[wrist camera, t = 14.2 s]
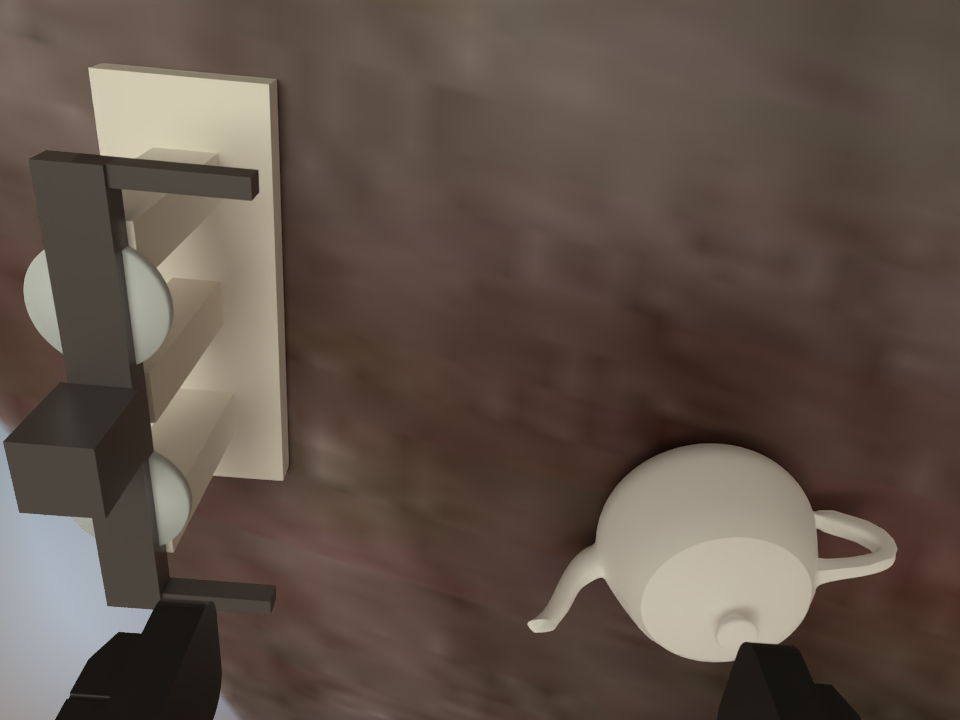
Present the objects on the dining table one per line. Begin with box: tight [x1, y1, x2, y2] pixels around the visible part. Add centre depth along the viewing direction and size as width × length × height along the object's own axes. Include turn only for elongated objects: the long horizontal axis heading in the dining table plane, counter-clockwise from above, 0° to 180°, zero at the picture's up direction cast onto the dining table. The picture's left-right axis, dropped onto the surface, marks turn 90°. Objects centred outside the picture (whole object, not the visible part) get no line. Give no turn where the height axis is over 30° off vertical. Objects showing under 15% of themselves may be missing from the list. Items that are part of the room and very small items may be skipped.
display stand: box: [88, 63, 289, 552], centre depth 37 cm, size 22×8×12 cm, turn 175°
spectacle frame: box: [3, 150, 276, 615], centre depth 30 cm, size 20×9×5 cm, turn 175°
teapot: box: [528, 443, 897, 662], centre depth 44 cm, size 20×12×10 cm, turn 101°
